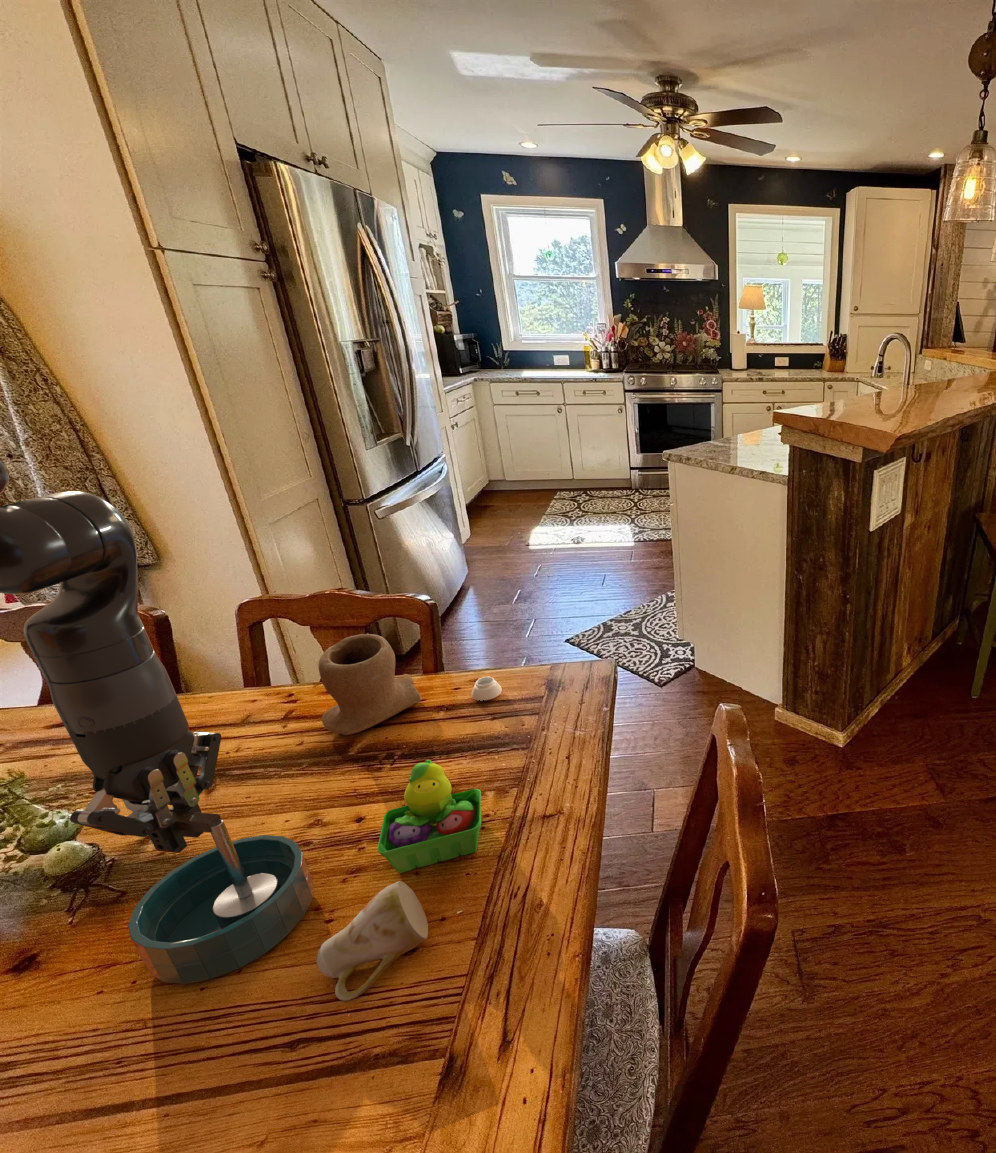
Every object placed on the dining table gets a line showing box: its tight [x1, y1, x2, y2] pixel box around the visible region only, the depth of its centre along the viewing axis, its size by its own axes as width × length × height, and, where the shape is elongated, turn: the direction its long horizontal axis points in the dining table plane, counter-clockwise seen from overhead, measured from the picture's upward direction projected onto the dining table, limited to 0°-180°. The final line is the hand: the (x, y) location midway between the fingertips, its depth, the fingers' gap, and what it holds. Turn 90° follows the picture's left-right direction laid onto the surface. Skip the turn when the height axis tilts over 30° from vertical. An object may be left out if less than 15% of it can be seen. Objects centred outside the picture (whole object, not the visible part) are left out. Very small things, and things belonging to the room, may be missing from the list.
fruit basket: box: [377, 759, 482, 874], centre depth 78 cm, size 11×9×11 cm
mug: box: [316, 880, 429, 1002], centre depth 65 cm, size 8×10×10 cm
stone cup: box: [317, 633, 423, 736], centre depth 103 cm, size 15×12×15 cm
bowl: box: [127, 834, 315, 985], centre depth 68 cm, size 14×14×6 cm
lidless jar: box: [471, 676, 503, 702], centre depth 111 cm, size 5×3×5 cm
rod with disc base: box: [126, 811, 280, 929], centre depth 66 cm, size 12×6×13 cm, turn 86°
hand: (184, 841), depth 65 cm, fingers closed on rod with disc base, 1 cm apart
